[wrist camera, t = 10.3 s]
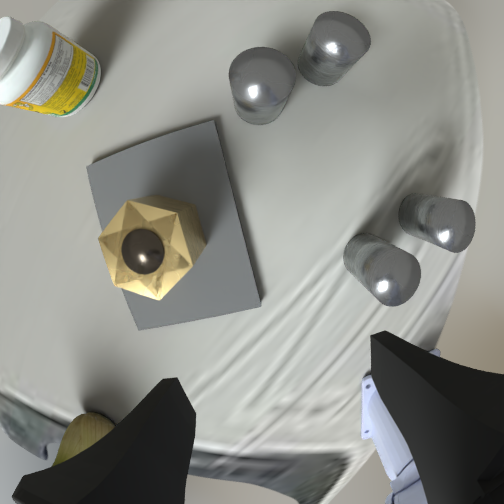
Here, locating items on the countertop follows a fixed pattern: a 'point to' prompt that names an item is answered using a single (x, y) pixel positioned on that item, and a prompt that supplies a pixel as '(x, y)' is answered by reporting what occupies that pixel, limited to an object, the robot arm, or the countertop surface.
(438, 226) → the cylinder
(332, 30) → the cylinder
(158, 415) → the robot arm
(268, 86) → the cylinder
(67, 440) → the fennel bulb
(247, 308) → the mat
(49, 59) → the supplement bottle
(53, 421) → the countertop surface
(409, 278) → the cylinder
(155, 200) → the nut
